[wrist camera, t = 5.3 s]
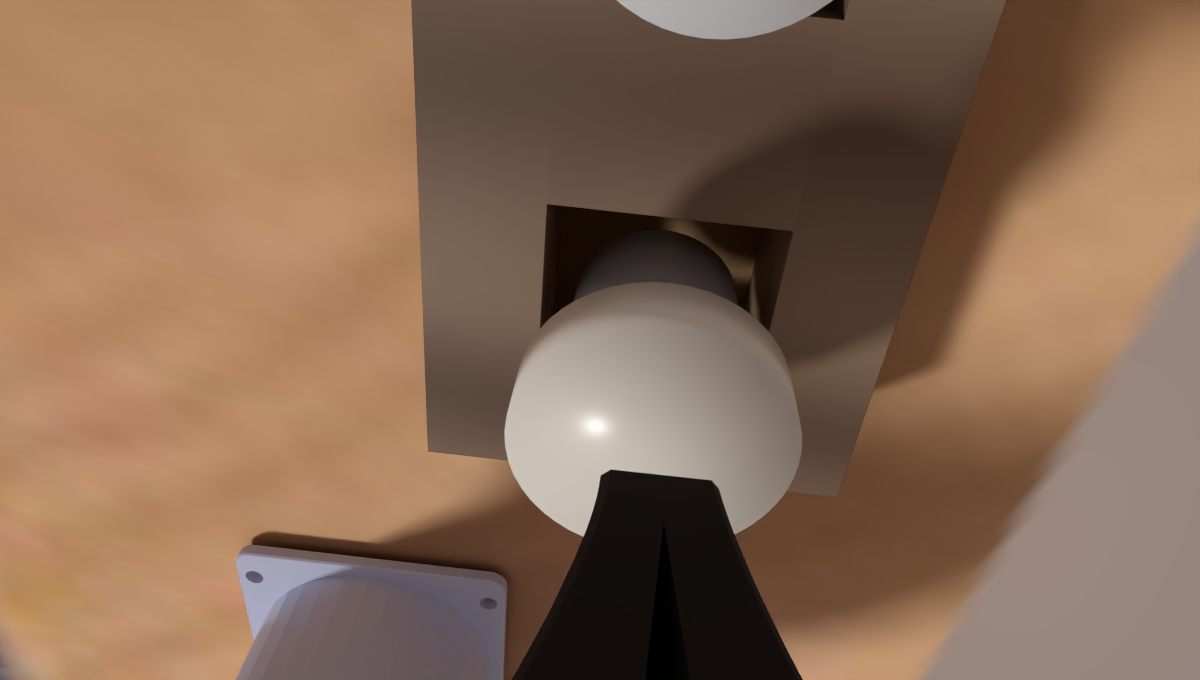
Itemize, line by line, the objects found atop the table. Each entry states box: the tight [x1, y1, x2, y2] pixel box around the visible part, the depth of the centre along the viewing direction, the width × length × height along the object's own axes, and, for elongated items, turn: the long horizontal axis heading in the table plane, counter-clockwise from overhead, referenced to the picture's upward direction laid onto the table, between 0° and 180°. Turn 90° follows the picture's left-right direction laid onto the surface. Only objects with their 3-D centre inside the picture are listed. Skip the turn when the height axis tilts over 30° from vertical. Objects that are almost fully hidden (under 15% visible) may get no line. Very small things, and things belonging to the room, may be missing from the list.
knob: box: [504, 230, 802, 537], centre depth 15 cm, size 5×5×4 cm
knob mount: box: [411, 0, 1006, 497], centre depth 15 cm, size 16×9×3 cm, turn 175°
